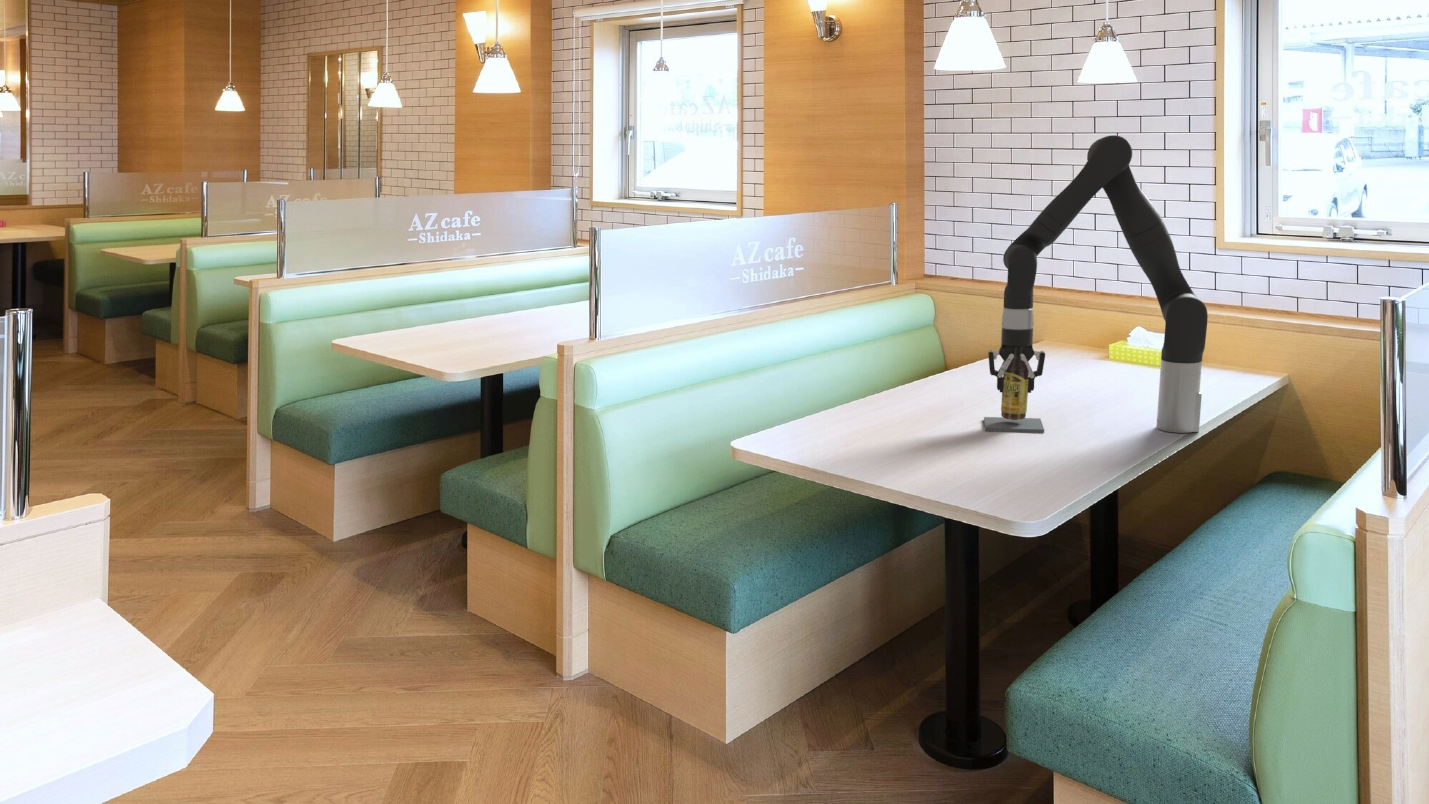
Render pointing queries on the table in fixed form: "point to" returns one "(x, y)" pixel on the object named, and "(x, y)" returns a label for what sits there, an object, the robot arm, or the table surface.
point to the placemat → (1013, 425)
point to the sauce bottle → (1015, 387)
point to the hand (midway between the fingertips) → (1015, 391)
